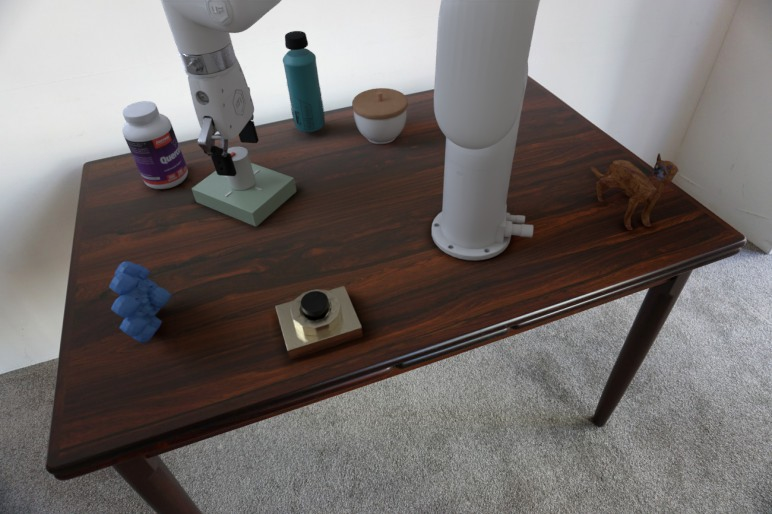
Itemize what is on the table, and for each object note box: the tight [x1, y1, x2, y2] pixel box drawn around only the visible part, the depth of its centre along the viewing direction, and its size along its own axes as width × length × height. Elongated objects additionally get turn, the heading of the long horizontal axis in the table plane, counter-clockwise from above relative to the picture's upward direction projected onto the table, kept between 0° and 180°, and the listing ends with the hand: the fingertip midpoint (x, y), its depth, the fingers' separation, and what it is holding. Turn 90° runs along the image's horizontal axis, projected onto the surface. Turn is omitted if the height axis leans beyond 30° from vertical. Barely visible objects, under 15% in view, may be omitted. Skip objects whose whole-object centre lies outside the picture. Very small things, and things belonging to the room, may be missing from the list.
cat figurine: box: [590, 153, 679, 231], centre depth 83 cm, size 18×7×14 cm, turn 13°
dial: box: [227, 146, 255, 190], centre depth 89 cm, size 4×4×6 cm
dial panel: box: [191, 162, 297, 228], centre depth 92 cm, size 14×11×3 cm
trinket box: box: [351, 87, 409, 145], centre depth 103 cm, size 11×11×9 cm
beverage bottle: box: [282, 30, 326, 133], centre depth 101 cm, size 6×7×20 cm
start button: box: [301, 291, 330, 320], centre depth 69 cm, size 4×4×2 cm
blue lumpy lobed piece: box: [108, 260, 172, 344], centre depth 68 cm, size 12×7×12 cm, turn 14°
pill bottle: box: [121, 100, 189, 190], centre depth 93 cm, size 8×8×14 cm
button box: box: [274, 285, 364, 361], centre depth 70 cm, size 10×8×4 cm
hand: (239, 157), depth 87 cm, fingers open, 9 cm apart
